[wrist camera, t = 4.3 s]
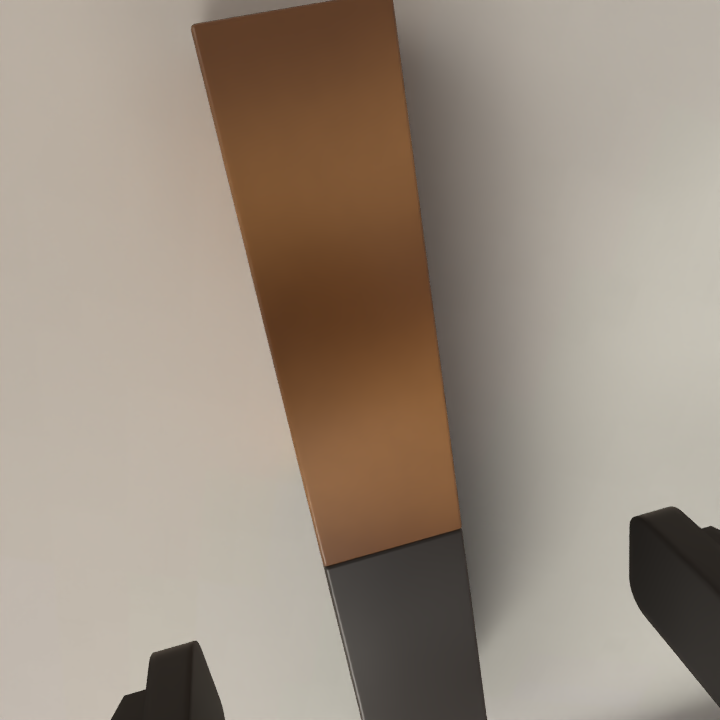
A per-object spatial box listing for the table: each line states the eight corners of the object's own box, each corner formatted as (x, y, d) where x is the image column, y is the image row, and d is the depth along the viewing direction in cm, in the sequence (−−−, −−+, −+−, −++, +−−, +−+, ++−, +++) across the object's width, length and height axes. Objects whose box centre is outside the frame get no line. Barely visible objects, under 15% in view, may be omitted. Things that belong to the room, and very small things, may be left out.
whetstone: (451, 696, 21) (501, 820, 18) (364, 725, 21) (395, 857, 17) (343, 19, 13) (393, -11, 9) (196, 45, 13) (189, 24, 9)
